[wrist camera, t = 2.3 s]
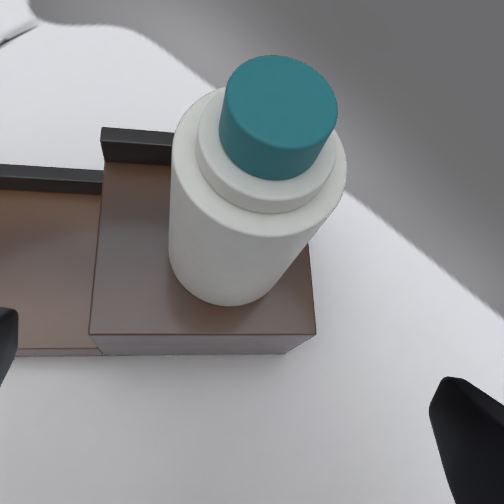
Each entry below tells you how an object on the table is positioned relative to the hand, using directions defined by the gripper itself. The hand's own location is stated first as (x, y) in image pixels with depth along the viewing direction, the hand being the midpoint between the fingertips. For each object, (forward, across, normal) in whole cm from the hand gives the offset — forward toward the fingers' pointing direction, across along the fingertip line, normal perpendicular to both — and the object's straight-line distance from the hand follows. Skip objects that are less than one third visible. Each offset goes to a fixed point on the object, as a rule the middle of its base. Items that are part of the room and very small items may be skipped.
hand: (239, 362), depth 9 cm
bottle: (+9, 0, +1) cm, 9 cm away
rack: (+12, +5, +5) cm, 15 cm away
